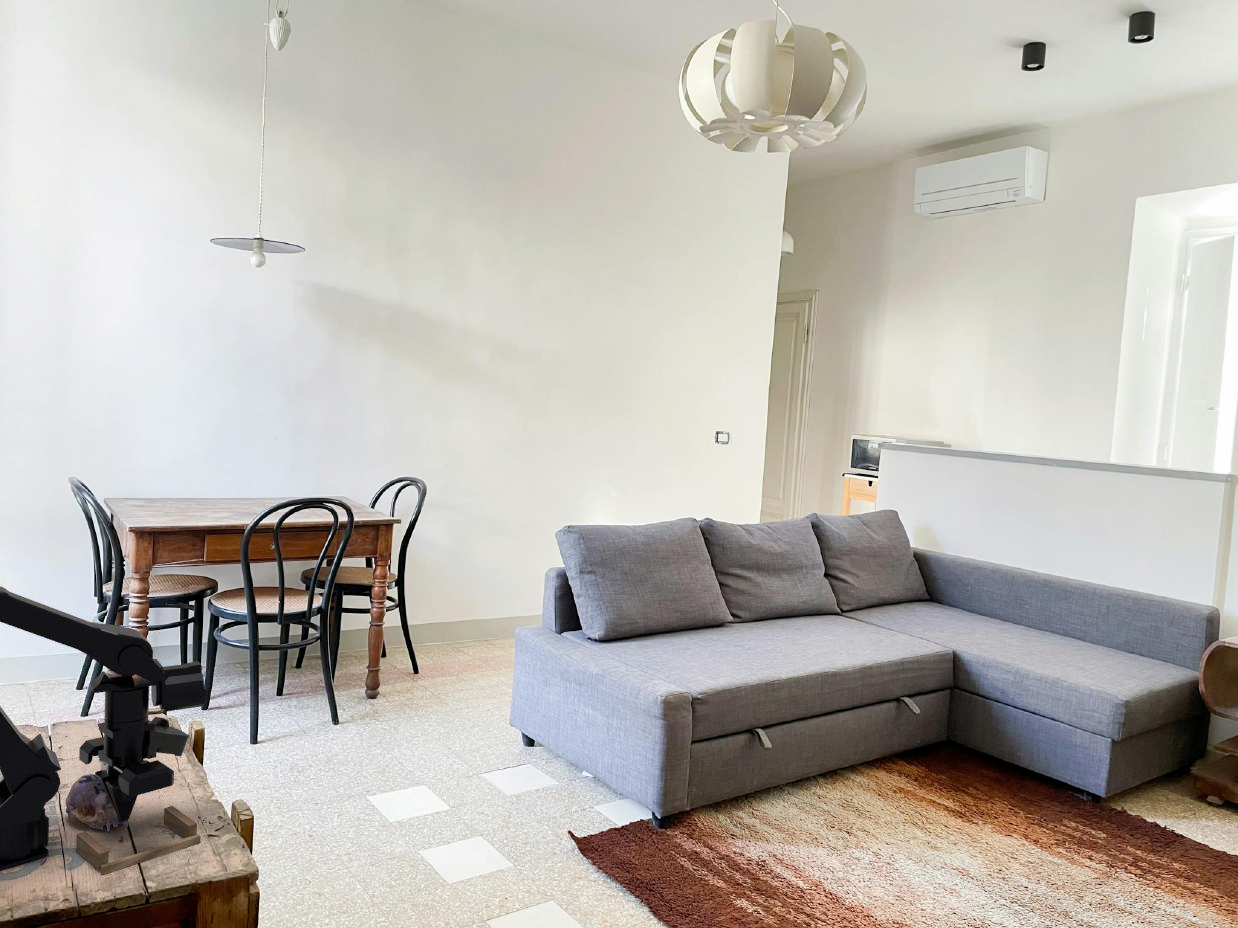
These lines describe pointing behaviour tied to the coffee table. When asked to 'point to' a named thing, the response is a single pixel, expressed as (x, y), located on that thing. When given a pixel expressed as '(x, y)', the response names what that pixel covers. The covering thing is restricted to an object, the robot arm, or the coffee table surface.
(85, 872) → the coffee table surface
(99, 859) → the rail notch
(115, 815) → the skull
